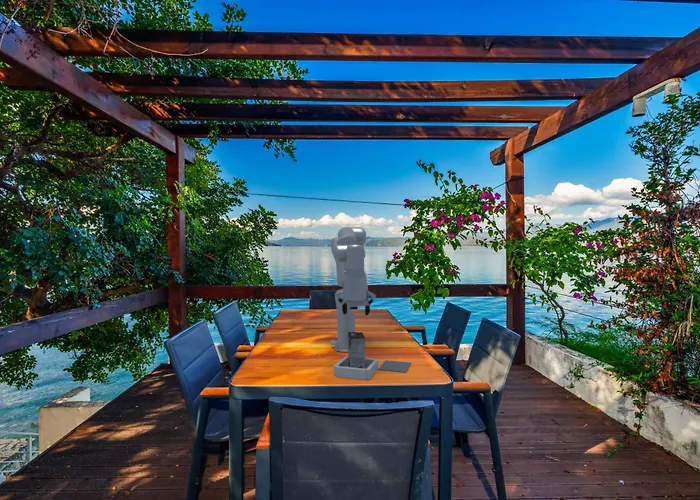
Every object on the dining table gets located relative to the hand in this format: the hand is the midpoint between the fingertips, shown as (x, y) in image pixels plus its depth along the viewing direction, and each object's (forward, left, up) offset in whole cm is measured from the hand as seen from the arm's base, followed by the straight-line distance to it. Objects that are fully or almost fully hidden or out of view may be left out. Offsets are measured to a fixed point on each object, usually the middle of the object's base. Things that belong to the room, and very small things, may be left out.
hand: (356, 314), depth 148 cm
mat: (+14, +12, -25) cm, 31 cm away
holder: (0, 0, -25) cm, 25 cm away
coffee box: (0, 0, -25) cm, 25 cm away
